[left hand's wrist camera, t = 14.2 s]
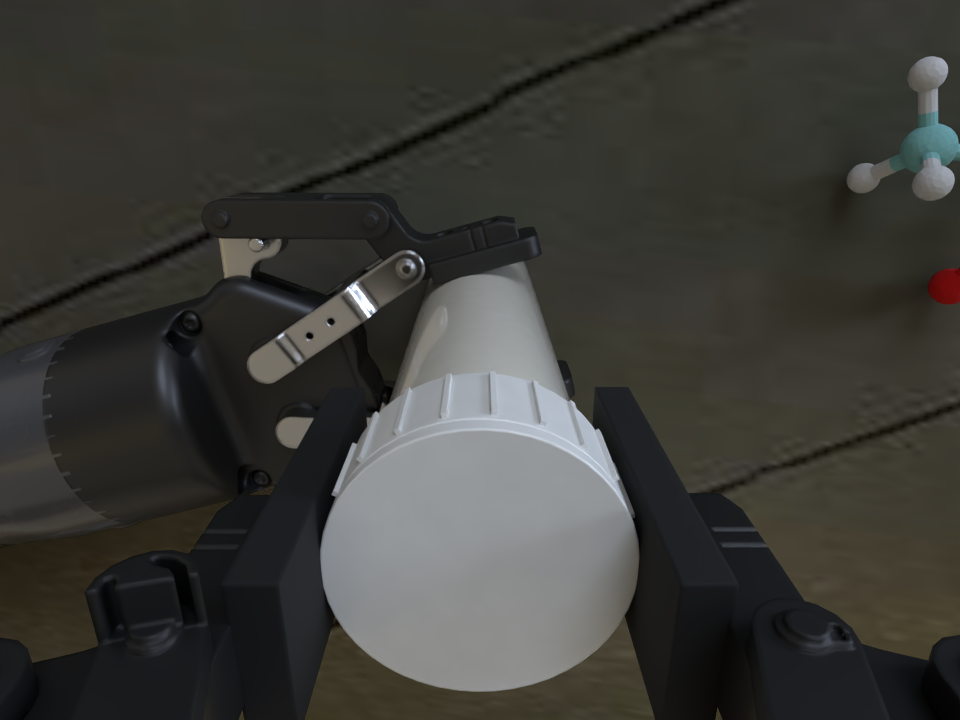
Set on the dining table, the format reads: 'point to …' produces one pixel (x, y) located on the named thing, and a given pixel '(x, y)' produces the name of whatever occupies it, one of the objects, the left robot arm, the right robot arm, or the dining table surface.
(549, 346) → the jar
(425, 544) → the lid
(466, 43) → the dining table surface
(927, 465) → the dining table surface
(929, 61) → the molecular model
